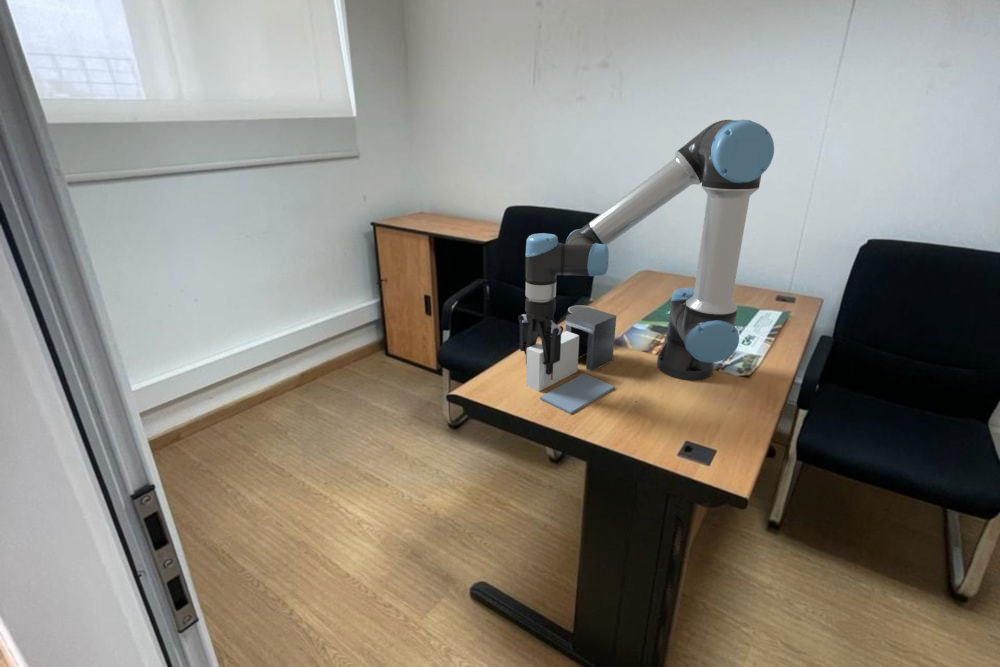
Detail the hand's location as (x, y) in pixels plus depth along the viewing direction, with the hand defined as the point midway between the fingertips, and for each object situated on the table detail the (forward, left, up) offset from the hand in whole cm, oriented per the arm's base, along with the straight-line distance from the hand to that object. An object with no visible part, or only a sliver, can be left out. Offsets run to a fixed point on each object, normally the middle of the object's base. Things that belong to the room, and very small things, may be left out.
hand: (538, 380), depth 134 cm
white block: (0, -6, -1) cm, 6 cm away
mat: (-10, -4, -1) cm, 11 cm away
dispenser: (0, -21, -1) cm, 21 cm away
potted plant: (-23, -11, -2) cm, 26 cm away
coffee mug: (+12, -33, -2) cm, 35 cm away
